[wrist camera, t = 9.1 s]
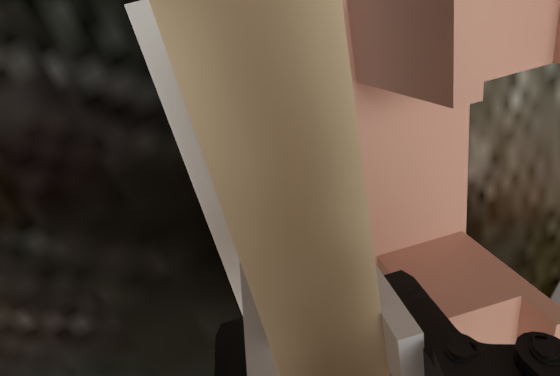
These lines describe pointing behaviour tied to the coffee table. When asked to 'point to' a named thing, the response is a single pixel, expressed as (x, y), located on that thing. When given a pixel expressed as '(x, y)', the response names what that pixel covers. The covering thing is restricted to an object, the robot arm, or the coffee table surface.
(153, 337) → the coffee table surface
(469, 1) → the stand
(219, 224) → the mat
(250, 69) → the rail
